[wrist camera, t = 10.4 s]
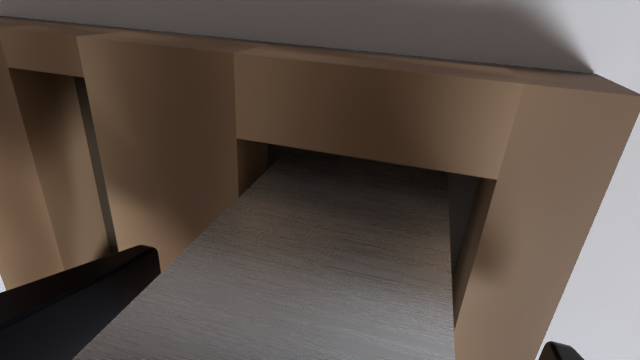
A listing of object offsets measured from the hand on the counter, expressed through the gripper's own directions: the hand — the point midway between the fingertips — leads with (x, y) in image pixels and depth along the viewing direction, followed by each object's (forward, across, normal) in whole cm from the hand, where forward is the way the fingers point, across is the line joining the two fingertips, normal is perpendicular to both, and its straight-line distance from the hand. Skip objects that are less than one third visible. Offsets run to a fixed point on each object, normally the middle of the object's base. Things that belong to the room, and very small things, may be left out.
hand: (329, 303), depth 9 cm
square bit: (+4, 0, 0) cm, 4 cm away
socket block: (+4, +4, 0) cm, 6 cm away
